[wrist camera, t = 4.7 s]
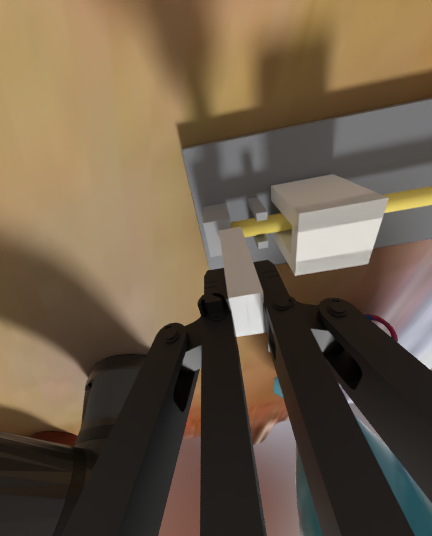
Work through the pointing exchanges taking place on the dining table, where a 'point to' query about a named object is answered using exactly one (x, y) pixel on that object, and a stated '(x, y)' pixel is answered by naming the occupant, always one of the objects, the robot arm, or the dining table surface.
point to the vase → (402, 484)
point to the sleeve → (327, 223)
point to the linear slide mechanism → (315, 175)
